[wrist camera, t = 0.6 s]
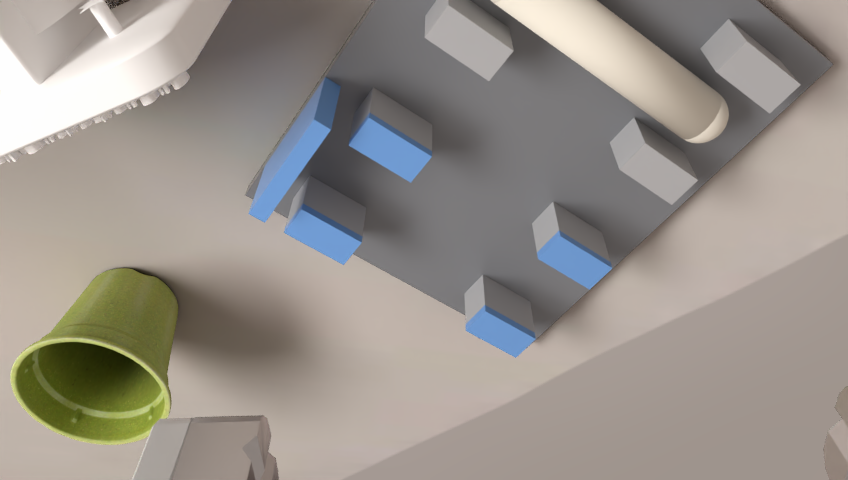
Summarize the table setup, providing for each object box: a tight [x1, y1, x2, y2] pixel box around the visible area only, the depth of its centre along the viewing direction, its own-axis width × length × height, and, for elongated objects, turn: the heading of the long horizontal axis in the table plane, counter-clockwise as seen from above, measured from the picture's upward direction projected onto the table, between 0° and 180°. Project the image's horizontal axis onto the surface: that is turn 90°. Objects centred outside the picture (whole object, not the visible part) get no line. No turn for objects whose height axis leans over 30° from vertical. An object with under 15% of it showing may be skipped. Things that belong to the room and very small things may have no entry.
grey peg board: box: [245, 0, 833, 357], centre depth 44 cm, size 26×22×6 cm
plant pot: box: [10, 268, 178, 445], centre depth 51 cm, size 9×9×9 cm
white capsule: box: [491, 0, 729, 143], centre depth 41 cm, size 16×3×3 cm, turn 55°
